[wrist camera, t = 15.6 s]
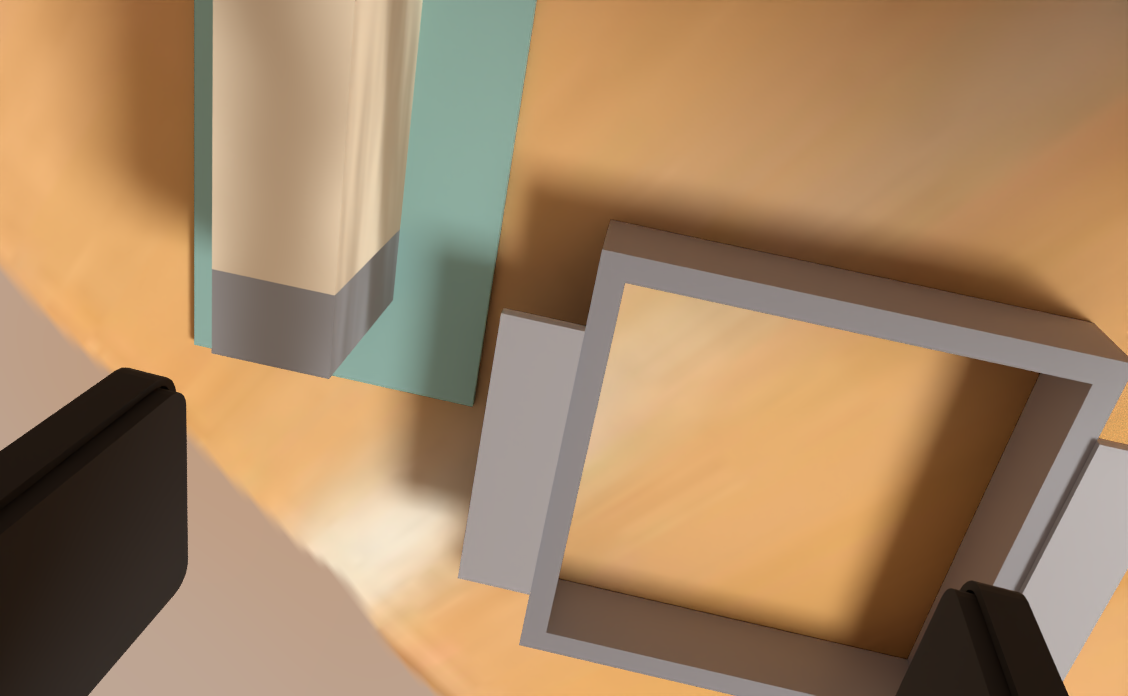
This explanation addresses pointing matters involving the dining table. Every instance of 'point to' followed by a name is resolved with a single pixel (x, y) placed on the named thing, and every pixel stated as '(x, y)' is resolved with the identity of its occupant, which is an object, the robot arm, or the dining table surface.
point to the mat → (419, 196)
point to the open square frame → (838, 300)
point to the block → (307, 173)
